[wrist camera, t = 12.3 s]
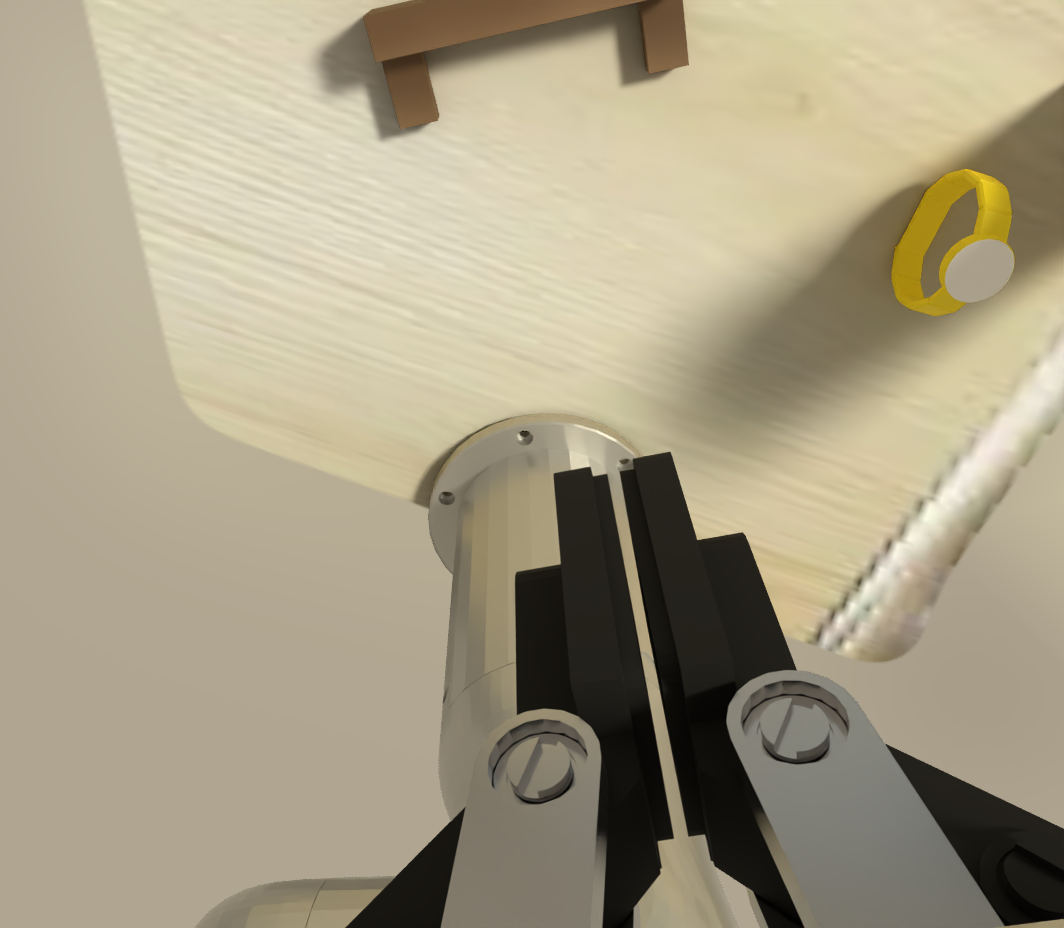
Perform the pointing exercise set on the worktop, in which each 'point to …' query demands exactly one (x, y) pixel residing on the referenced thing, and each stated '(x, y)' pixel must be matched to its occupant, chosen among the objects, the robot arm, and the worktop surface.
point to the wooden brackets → (485, 10)
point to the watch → (956, 246)
